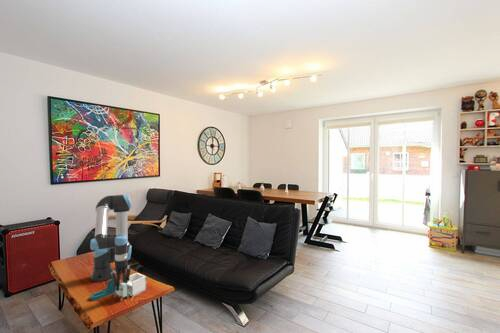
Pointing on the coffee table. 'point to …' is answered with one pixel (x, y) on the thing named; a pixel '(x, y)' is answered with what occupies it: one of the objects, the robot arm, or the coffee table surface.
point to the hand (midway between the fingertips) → (121, 293)
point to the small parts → (121, 297)
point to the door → (123, 289)
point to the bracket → (104, 291)
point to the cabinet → (136, 284)
